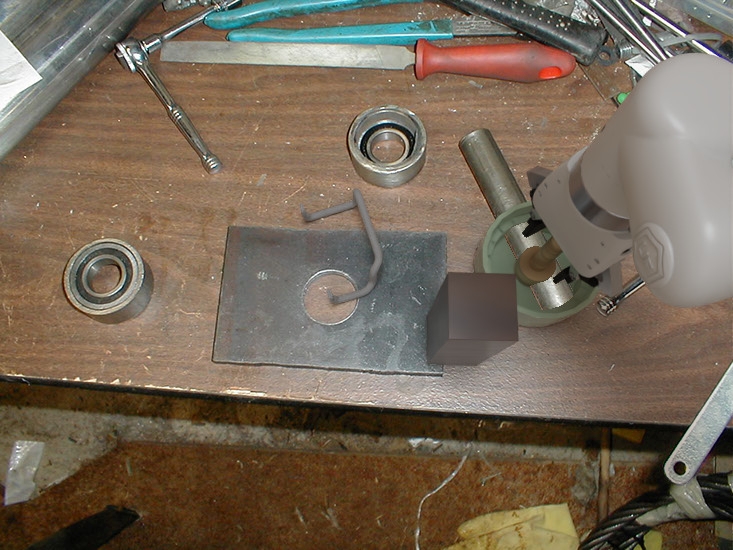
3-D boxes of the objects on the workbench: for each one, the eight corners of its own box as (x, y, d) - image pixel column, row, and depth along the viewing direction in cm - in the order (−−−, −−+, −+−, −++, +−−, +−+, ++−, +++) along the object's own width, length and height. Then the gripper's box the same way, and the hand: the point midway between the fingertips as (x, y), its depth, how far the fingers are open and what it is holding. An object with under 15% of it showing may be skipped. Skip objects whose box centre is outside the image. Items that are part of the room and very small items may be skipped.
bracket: (303, 217, 72) (296, 202, 67) (361, 197, 72) (357, 181, 67) (332, 308, 69) (327, 299, 64) (392, 287, 69) (391, 277, 64)
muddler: (549, 287, 68) (589, 256, 56) (514, 286, 68) (545, 255, 56) (547, 254, 69) (586, 216, 57) (512, 253, 70) (543, 214, 57)
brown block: (476, 366, 66) (518, 341, 47) (426, 364, 66) (448, 339, 47) (475, 317, 68) (515, 273, 49) (426, 315, 68) (447, 271, 49)
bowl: (591, 329, 67) (611, 320, 62) (474, 325, 68) (484, 316, 62) (582, 220, 71) (601, 202, 65) (472, 217, 71) (481, 199, 66)
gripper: (723, 252, 43) (621, 302, 60) (596, 82, 47) (536, 176, 64) (644, 297, 42) (564, 335, 59) (521, 120, 46) (480, 204, 63)
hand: (550, 252), depth 62 cm, fingers open, 5 cm apart
